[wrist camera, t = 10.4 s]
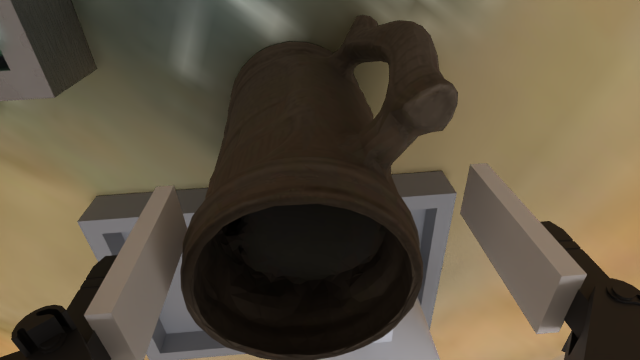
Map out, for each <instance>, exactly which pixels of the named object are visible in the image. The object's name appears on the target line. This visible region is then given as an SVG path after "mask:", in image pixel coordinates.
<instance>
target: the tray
mask: <svg viewBox="0 0 640 360" xmlns="http://www.w3.org/2000/svg"><path fill="white" fill-rule="evenodd" d="M391 176H392V178H393V181H394V184H395V186H396V188H397V191H398V193H399V195H400V196H401V197H402V199H403V201H404V202H405V204H406V205H407V207H408V208H409V210H410V211H411V214H412V216H413V219H414V222H415V224H416V227H417V230H418V235H419V241H420V253H421V257H422V261H423V279H422V286H421V289H420V291H419V294H418V296H417V297H418V299H419V302H420V305H421V308H422V311H423V313H424V316H425V319H426V322H427V325H428V327H429V330H430V325H431V320H432V315H433V310H434V305H435V300H436V295H437V290H438V285H439V280H440V275H441V270H442V265H443V259H444V254H445V249H446V244H447V239H448V234H449V229H450V224H451V219H452V214H453V209H454V204H455V199H456V194H457V193H456V191H455V190H454V188H453V187H452V185H451V184H450V182H449V181H448V179H447V178H446V176H445V175H444V173H443V172H442V171H434V172H420V173H407V174H393V175H391ZM207 190H208V188H201V189H188V190H176V193H177V197H178V200H179V203H180V206H181V210H182V213H183V216H184V219H185V223H186V226H187V229H188V226H189V224H190V221H191V218H192V216H193V215H194V213H195V212H196V211H197V209H198V208H199V207H200V206H201V204H202V203H203V202H204V200H205V196H206V193H207ZM152 193H153V192H147V193H133V194H119V195H106V196H96V198H95V199H94V200H93V202H92V203H91V204H90V206H89V207H88V208H87V209H86V211H85V212H84V213H83V215H82V216H81V217H80V219H79V220H78V221H77V222H78V224H79V226H80V228H81V230H82V232H83V234H84V235H85V237H86V239H87V241H88V243H89V245H90V247H91V249H92V251H93V253H94V255H95V257H96V258H97V260H98V262H99V261H100V260H101V259H102V258H104V257H105V256H111V255H118V254H119V252H120V250H121V248H122V247H123V245H124V243H125V241H126V240H127V238H128V236H129V234H130V232H131V231H132V229H133V227H134V225H135V224H136V222H137V220H138V218H139V216H140V215H141V213H142V211H143V209H144V208H145V206H146V204H147V202H148V201H149V199H150V197H151V195H152ZM181 264H182V254H181V257H180V260H179V263H178V265H177V268H176V271H175V274H174V277H173V279H172V282H171V285H170V288H169V291H168V293H167V296H166V299H165V302H164V305H163V307H162V310H161V313H160V316H159V319H158V321H157V324H156V327H155V330H154V332H153V335H152V338H151V341H150V344H149V346H148V349H147V352H146V354H147V356H148V358H149V360H181V359H192V358H203V357H215V356H226V355H237V354H246V353H243V352H240V351H236V350H233V349H230V348H226V347H225V346H223V345H222V344H220V343H219V342H217V341H216V340H214V339H212V338H211V337H210V336H209V335H208V334H207V333H206V332H204V331H203V330H202V329H201V328H200V327H199V326H198V325H197V324H196V323H195V322H194V320H193V318H192V317H191V315H190V314H189V312H188V310H187V308H186V305H185V301H184V298H183V294H182V291H181V277H180V269H181Z"/></svg>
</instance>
